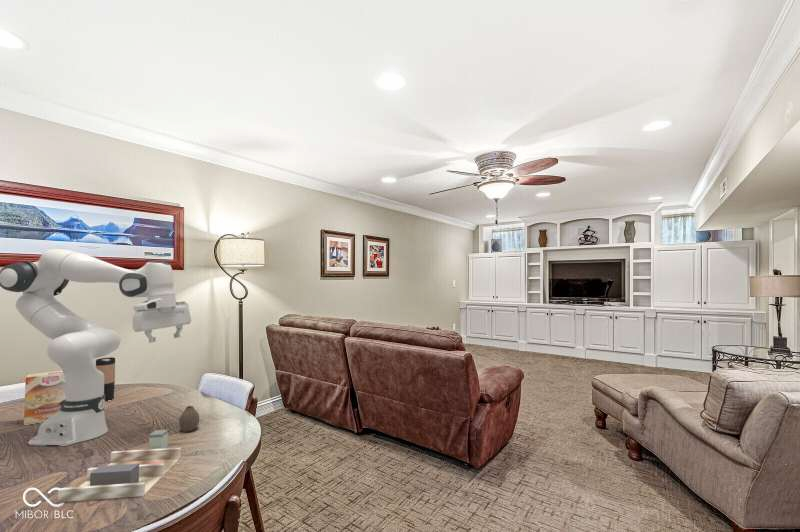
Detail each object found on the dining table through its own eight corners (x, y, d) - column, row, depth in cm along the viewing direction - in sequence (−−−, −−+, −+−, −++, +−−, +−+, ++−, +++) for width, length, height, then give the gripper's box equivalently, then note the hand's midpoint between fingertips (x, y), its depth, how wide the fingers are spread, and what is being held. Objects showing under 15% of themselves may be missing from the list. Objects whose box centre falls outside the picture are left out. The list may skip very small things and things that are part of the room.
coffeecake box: (23, 426, 148) (25, 377, 149) (24, 421, 153) (26, 374, 154) (73, 417, 158) (74, 371, 159) (73, 413, 163) (74, 368, 164)
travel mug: (101, 398, 185) (102, 357, 185) (118, 397, 185) (119, 357, 186) (90, 403, 177) (91, 360, 178) (107, 402, 178) (108, 360, 179)
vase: (190, 434, 140) (190, 410, 140) (174, 432, 141) (174, 409, 142) (203, 427, 147) (203, 404, 147) (188, 426, 148) (188, 403, 148)
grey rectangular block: (148, 453, 124) (149, 434, 125) (154, 447, 128) (155, 430, 129) (161, 452, 125) (162, 434, 125) (167, 447, 129) (167, 429, 129)
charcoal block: (89, 492, 99) (90, 473, 99) (99, 484, 103) (100, 466, 103) (130, 489, 101) (130, 470, 101) (138, 481, 105) (139, 463, 105)
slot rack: (57, 506, 95) (58, 490, 95) (112, 464, 117) (113, 451, 117) (142, 499, 97) (142, 484, 98) (180, 460, 119) (180, 447, 119)
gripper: (182, 301, 152) (185, 335, 151) (128, 306, 133) (131, 345, 132) (193, 300, 149) (196, 334, 148) (139, 305, 130) (142, 345, 130)
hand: (165, 340), depth 140 cm, fingers open, 8 cm apart
